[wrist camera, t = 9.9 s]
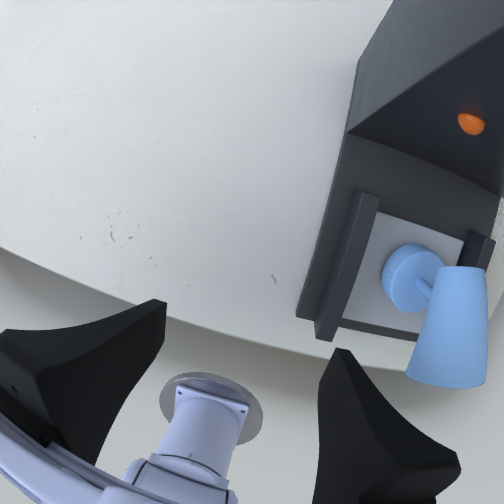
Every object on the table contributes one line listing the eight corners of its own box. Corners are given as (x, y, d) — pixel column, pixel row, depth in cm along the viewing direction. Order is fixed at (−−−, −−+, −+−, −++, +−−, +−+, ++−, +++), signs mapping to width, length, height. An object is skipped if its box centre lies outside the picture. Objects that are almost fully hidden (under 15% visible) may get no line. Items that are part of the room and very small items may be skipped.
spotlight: (418, 322, 20) (446, 239, 17) (482, 409, 10) (542, 299, 8) (364, 319, 20) (391, 227, 17) (418, 423, 10) (488, 293, 8)
